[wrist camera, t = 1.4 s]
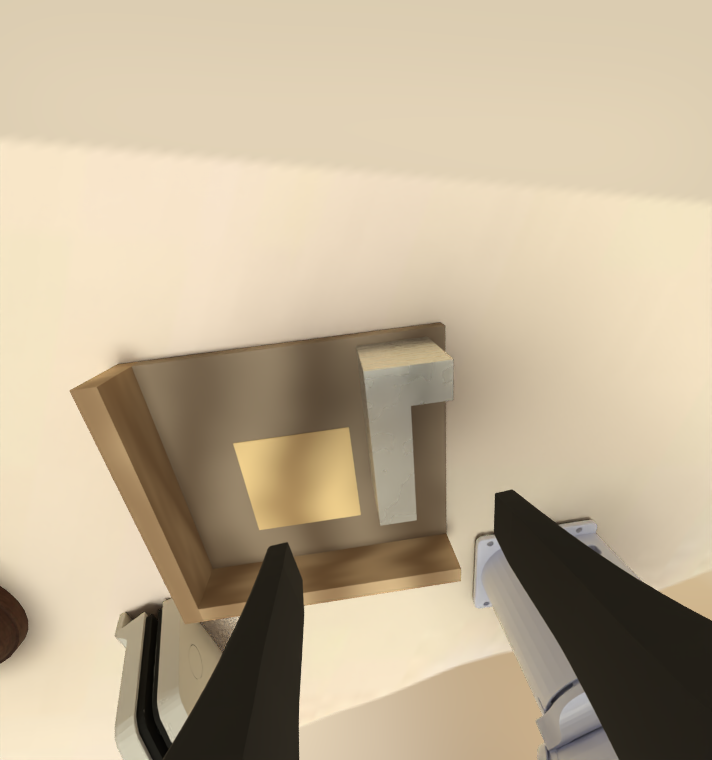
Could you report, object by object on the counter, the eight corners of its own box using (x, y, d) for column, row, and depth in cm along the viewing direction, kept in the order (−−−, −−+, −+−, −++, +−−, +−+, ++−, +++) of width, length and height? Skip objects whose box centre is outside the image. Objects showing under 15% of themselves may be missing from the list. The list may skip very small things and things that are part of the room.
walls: (440, 322, 18) (465, 338, 15) (442, 536, 25) (460, 581, 22) (117, 364, 18) (69, 390, 15) (204, 572, 24) (185, 624, 21)
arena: (440, 322, 18) (445, 325, 18) (442, 524, 24) (446, 534, 24) (139, 361, 18) (130, 366, 17) (216, 559, 24) (212, 569, 23)
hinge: (117, 611, 25) (67, 788, 16) (180, 577, 26) (166, 722, 18) (211, 716, 31) (213, 884, 23) (258, 684, 33) (277, 830, 24)
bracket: (356, 346, 18) (363, 371, 14) (427, 336, 18) (453, 359, 14) (371, 477, 21) (380, 525, 17) (431, 468, 21) (452, 514, 18)
